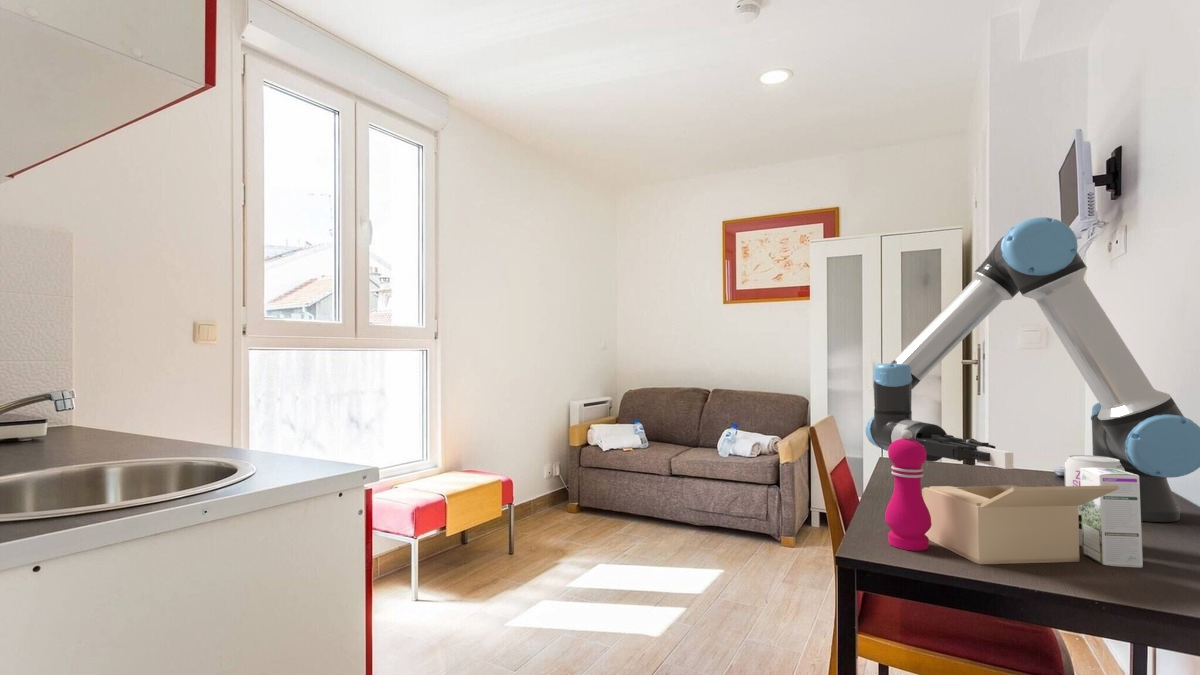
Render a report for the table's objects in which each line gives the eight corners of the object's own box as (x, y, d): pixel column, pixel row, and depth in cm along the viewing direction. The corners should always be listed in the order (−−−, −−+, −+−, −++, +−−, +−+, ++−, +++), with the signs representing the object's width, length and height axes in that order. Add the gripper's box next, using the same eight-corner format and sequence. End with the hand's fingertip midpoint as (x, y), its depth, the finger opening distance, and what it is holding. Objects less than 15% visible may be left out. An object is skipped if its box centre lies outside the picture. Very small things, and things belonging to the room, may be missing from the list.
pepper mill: (878, 538, 108) (876, 427, 109) (918, 539, 108) (917, 427, 108) (896, 551, 101) (895, 432, 101) (940, 552, 101) (938, 432, 101)
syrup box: (1144, 568, 93) (1142, 474, 94) (1101, 565, 94) (1099, 472, 95) (1121, 556, 99) (1119, 467, 99) (1080, 553, 100) (1078, 466, 100)
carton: (1009, 534, 111) (1008, 482, 111) (1079, 561, 96) (1078, 502, 96) (921, 536, 110) (920, 484, 110) (978, 564, 95) (977, 504, 95)
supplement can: (1112, 539, 108) (1110, 455, 108) (1136, 554, 100) (1134, 463, 100) (1058, 535, 110) (1056, 453, 111) (1077, 549, 102) (1075, 460, 103)
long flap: (1078, 502, 96) (1117, 485, 89) (1080, 505, 96) (1119, 488, 89) (980, 504, 95) (1012, 487, 88) (981, 507, 95) (1014, 490, 88)
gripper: (950, 458, 124) (1046, 482, 100) (890, 459, 122) (972, 484, 99) (950, 421, 124) (1045, 437, 100) (890, 422, 123) (972, 438, 99)
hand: (1009, 460), depth 100 cm, fingers closed
